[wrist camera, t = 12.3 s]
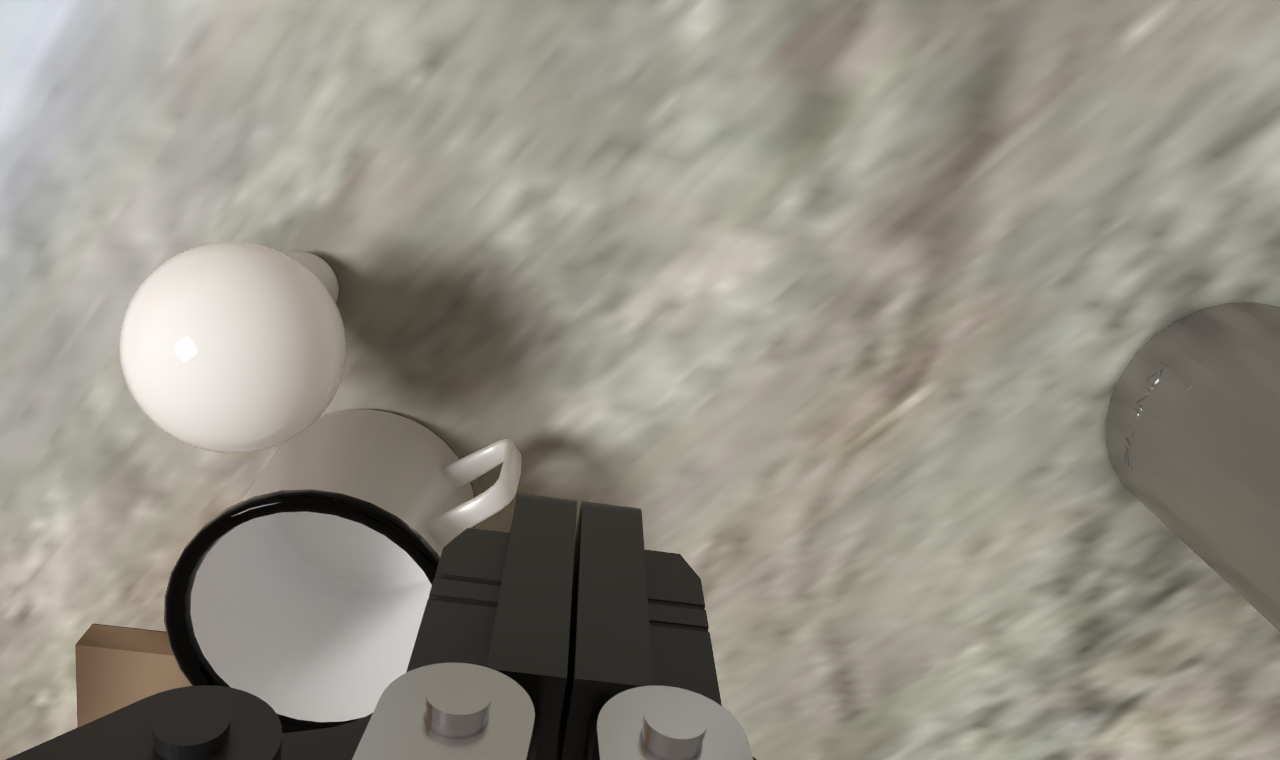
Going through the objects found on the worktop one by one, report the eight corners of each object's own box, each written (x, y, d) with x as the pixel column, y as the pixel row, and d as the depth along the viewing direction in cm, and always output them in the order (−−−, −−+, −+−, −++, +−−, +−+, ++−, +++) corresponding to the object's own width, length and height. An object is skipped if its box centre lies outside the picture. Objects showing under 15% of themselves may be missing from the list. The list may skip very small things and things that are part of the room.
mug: (342, 640, 44) (279, 792, 36) (203, 464, 41) (98, 585, 33) (586, 511, 42) (582, 638, 34) (459, 318, 40) (419, 404, 31)
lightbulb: (355, 389, 40) (268, 523, 30) (195, 318, 39) (49, 432, 29) (419, 244, 38) (351, 334, 28) (254, 166, 37) (120, 229, 27)
